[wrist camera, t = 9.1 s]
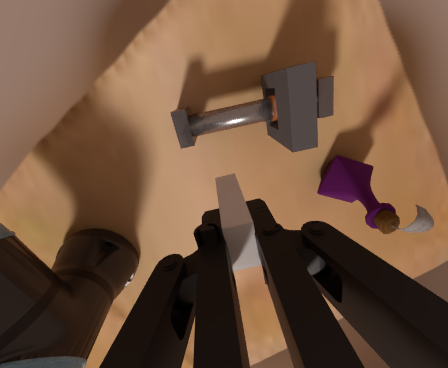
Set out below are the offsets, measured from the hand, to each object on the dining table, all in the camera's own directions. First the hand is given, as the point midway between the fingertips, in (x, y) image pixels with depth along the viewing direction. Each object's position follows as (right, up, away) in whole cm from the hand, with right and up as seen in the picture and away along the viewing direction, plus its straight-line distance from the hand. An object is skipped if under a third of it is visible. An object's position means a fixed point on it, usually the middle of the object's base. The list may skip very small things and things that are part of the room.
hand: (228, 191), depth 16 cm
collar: (+8, +14, +18) cm, 24 cm away
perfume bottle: (+21, +3, +24) cm, 32 cm away
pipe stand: (+3, +13, +19) cm, 23 cm away
